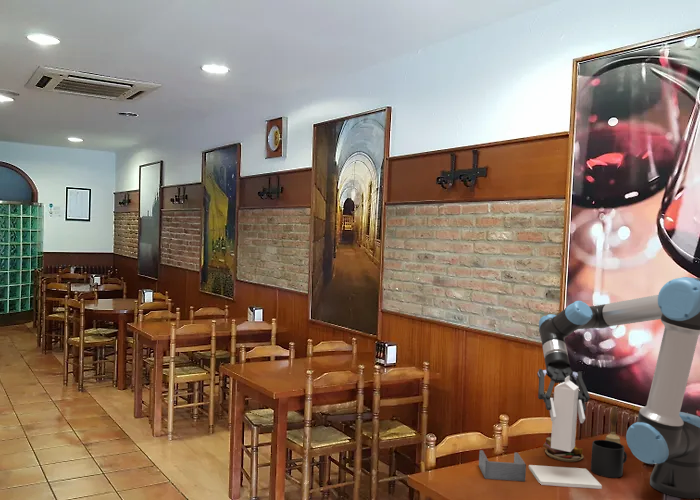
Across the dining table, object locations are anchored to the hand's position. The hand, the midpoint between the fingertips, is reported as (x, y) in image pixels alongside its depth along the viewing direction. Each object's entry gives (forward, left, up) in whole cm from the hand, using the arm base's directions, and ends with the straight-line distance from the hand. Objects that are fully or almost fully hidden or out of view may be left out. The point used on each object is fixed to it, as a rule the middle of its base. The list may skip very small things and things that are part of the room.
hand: (568, 419), depth 192 cm
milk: (0, -4, -10) cm, 10 cm away
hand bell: (-27, -33, -19) cm, 46 cm away
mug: (-18, -11, -19) cm, 28 cm away
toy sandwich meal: (-7, -25, -19) cm, 32 cm away
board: (-1, -3, -19) cm, 19 cm away
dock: (+18, -4, -19) cm, 26 cm away
